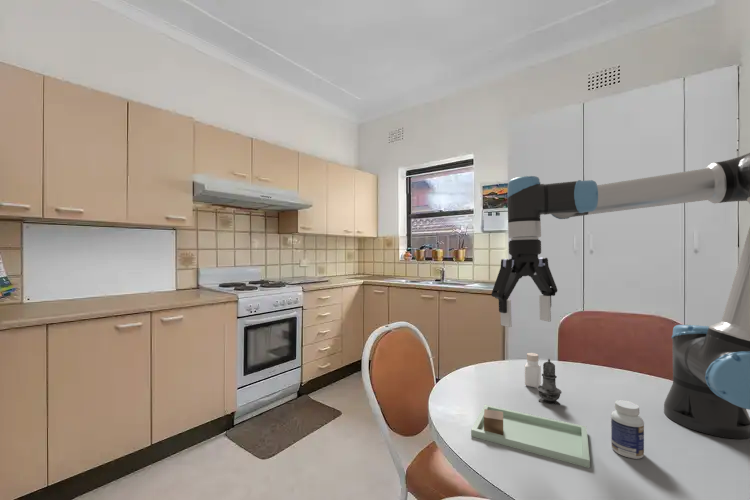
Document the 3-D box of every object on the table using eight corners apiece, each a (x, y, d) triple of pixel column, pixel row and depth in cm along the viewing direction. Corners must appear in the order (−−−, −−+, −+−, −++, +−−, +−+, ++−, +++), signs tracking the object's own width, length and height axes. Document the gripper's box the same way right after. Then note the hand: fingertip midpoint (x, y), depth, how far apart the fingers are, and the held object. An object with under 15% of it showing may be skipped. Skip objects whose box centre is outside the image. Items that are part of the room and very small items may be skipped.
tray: (586, 435, 75) (586, 426, 75) (589, 471, 63) (589, 460, 63) (484, 412, 86) (484, 404, 86) (471, 438, 74) (471, 429, 74)
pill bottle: (646, 463, 65) (645, 413, 65) (612, 454, 68) (611, 406, 68) (642, 449, 70) (641, 402, 70) (610, 441, 73) (610, 396, 73)
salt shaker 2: (565, 408, 88) (564, 362, 88) (540, 406, 89) (540, 361, 89) (557, 399, 93) (557, 356, 93) (534, 397, 95) (534, 354, 95)
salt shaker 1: (527, 381, 106) (527, 351, 106) (541, 384, 104) (541, 353, 104) (524, 385, 103) (524, 354, 103) (538, 389, 100) (538, 357, 100)
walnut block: (503, 429, 77) (502, 411, 77) (503, 438, 73) (503, 420, 73) (484, 426, 78) (484, 409, 78) (483, 435, 74) (483, 417, 74)
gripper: (546, 239, 94) (547, 316, 93) (475, 239, 83) (477, 325, 83) (571, 238, 87) (573, 320, 86) (497, 238, 76) (499, 331, 76)
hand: (526, 323), depth 85 cm, fingers open, 13 cm apart
